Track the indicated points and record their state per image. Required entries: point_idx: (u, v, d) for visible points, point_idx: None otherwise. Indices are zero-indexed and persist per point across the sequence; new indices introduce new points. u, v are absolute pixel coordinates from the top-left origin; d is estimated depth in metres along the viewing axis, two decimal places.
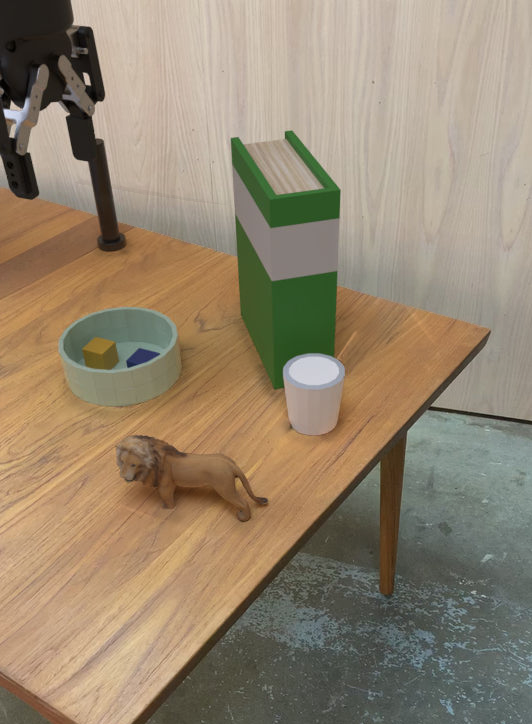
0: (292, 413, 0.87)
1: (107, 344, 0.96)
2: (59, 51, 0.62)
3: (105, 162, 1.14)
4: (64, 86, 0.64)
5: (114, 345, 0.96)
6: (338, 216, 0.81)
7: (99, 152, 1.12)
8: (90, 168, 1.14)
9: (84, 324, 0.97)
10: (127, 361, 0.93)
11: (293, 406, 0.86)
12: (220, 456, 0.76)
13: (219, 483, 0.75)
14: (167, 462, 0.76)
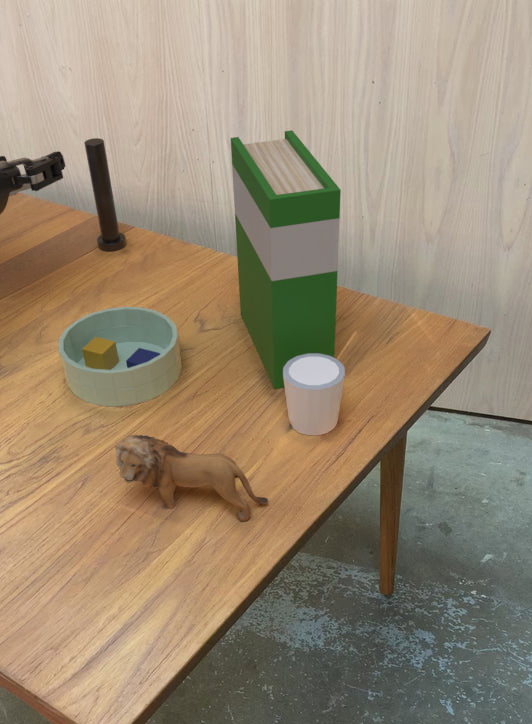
0: (292, 413, 0.87)
1: (107, 344, 0.96)
2: None
3: (105, 162, 1.14)
4: None
5: (114, 345, 0.96)
6: (338, 216, 0.81)
7: (99, 152, 1.12)
8: (90, 168, 1.14)
9: (84, 324, 0.97)
10: (127, 361, 0.93)
11: (293, 406, 0.86)
12: (220, 456, 0.76)
13: (219, 483, 0.75)
14: (167, 462, 0.76)
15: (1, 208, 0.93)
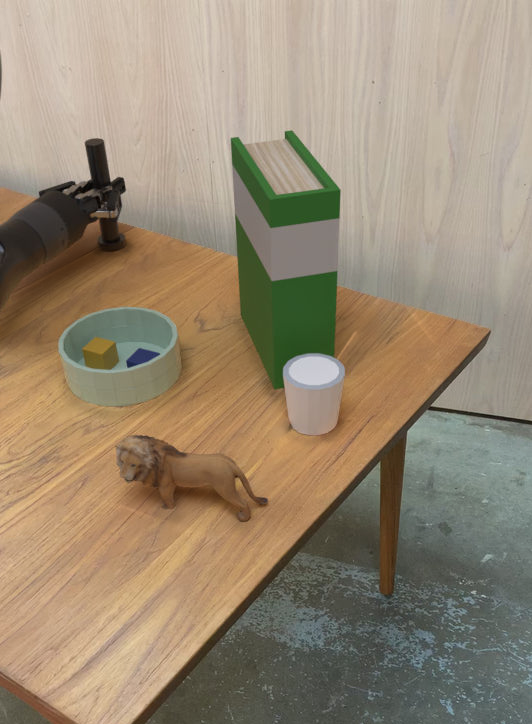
0: (292, 413, 0.87)
1: (107, 344, 0.96)
2: None
3: (105, 162, 1.14)
4: None
5: (114, 345, 0.96)
6: (338, 216, 0.81)
7: (99, 152, 1.12)
8: (91, 168, 1.14)
9: (84, 324, 0.97)
10: (127, 361, 0.93)
11: (293, 406, 0.86)
12: (220, 456, 0.76)
13: (219, 483, 0.75)
14: (167, 462, 0.76)
15: (78, 239, 1.11)
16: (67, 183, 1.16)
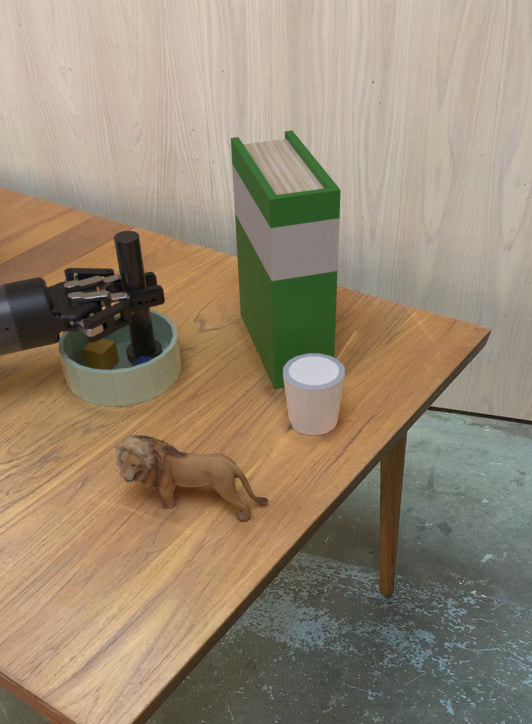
0: (292, 413, 0.87)
1: (107, 344, 0.96)
2: None
3: (133, 265, 0.87)
4: None
5: (114, 345, 0.96)
6: (338, 216, 0.81)
7: (123, 251, 0.86)
8: (118, 264, 0.88)
9: None
10: None
11: (293, 406, 0.86)
12: (220, 456, 0.76)
13: (219, 483, 0.75)
14: (167, 462, 0.76)
15: (47, 343, 0.88)
16: (104, 270, 0.92)
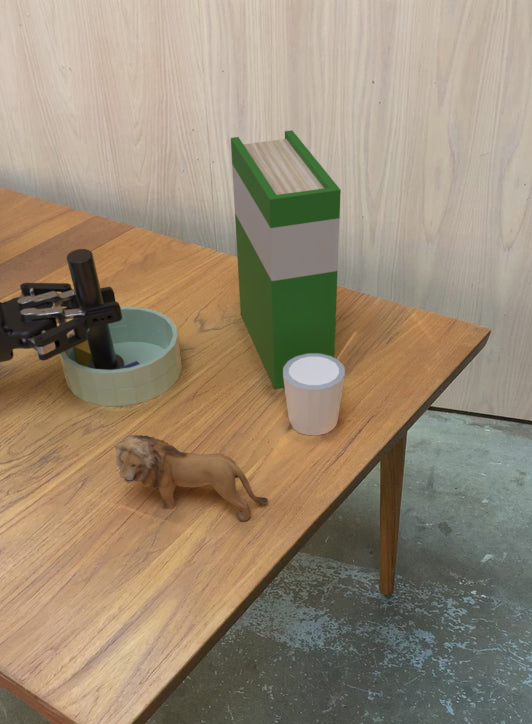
0: (292, 413, 0.87)
1: None
2: None
3: (88, 284, 0.85)
4: None
5: None
6: (338, 216, 0.81)
7: (77, 272, 0.83)
8: (73, 284, 0.86)
9: None
10: None
11: (293, 406, 0.86)
12: (220, 456, 0.76)
13: (219, 483, 0.75)
14: (167, 462, 0.76)
15: (0, 360, 0.85)
16: (61, 285, 0.90)
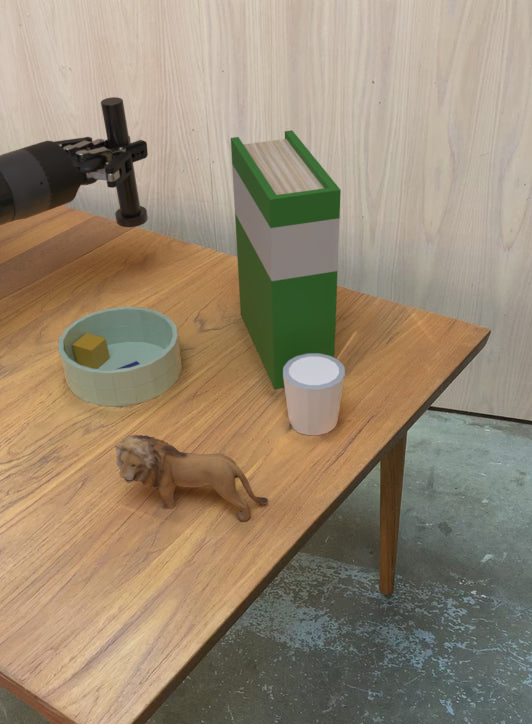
0: (292, 413, 0.87)
1: (97, 341, 0.97)
2: None
3: (123, 125, 1.00)
4: None
5: (104, 342, 0.97)
6: (338, 216, 0.81)
7: (115, 114, 0.98)
8: (106, 131, 1.00)
9: (84, 324, 0.97)
10: None
11: (293, 406, 0.86)
12: (220, 456, 0.76)
13: (219, 483, 0.75)
14: (167, 462, 0.76)
15: (68, 199, 0.97)
16: (83, 138, 1.03)
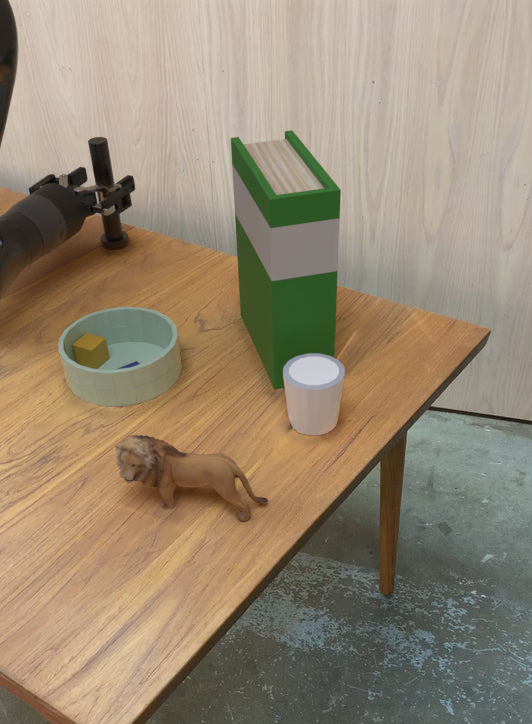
0: (292, 413, 0.87)
1: (97, 341, 0.97)
2: None
3: (109, 160, 1.14)
4: None
5: (104, 342, 0.97)
6: (338, 216, 0.81)
7: (103, 151, 1.13)
8: (94, 166, 1.14)
9: (84, 324, 0.97)
10: None
11: (293, 406, 0.86)
12: (220, 456, 0.76)
13: (219, 483, 0.75)
14: (167, 462, 0.76)
15: (76, 232, 1.10)
16: (48, 177, 1.15)
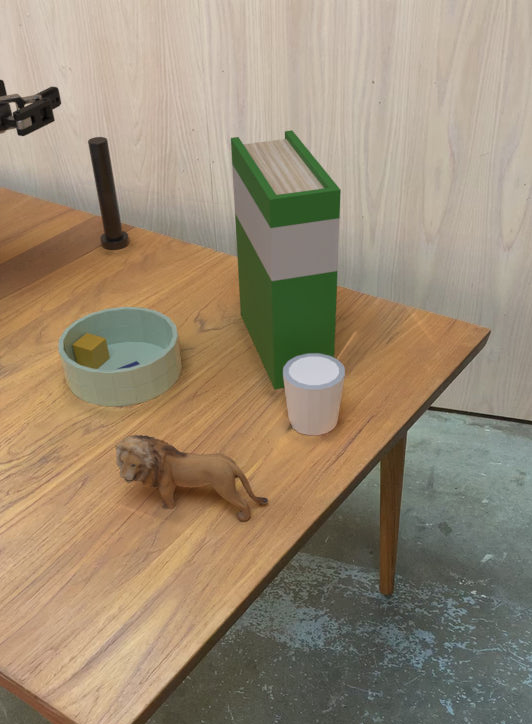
0: (292, 413, 0.87)
1: (97, 341, 0.97)
2: None
3: (109, 160, 1.14)
4: None
5: (104, 342, 0.97)
6: (338, 216, 0.81)
7: (103, 151, 1.13)
8: (94, 166, 1.14)
9: (84, 324, 0.97)
10: None
11: (293, 406, 0.86)
12: (220, 456, 0.76)
13: (219, 483, 0.75)
14: (167, 462, 0.76)
15: None
16: None
